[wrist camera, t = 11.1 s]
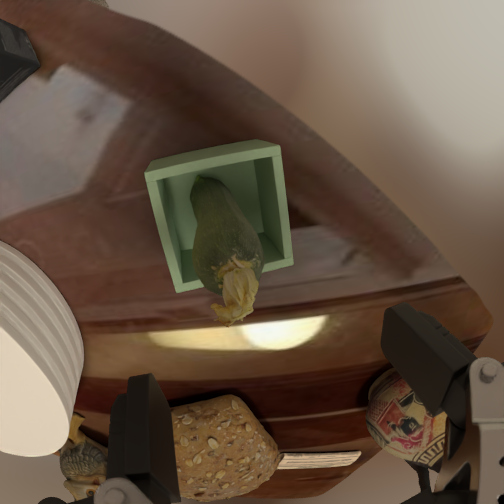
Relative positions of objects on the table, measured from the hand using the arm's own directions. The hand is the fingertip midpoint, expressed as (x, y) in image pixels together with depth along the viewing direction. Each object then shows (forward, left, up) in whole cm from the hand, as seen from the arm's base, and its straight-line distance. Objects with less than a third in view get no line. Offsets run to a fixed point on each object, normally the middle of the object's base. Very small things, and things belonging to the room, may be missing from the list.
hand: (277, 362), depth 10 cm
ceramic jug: (+42, +25, -24) cm, 55 cm away
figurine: (+36, -30, -24) cm, 53 cm away
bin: (+1, +1, -24) cm, 24 cm away
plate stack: (+10, -33, -24) cm, 42 cm away
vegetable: (0, 0, -24) cm, 24 cm away
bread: (+39, -9, -24) cm, 47 cm away
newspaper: (+63, +11, -24) cm, 68 cm away
